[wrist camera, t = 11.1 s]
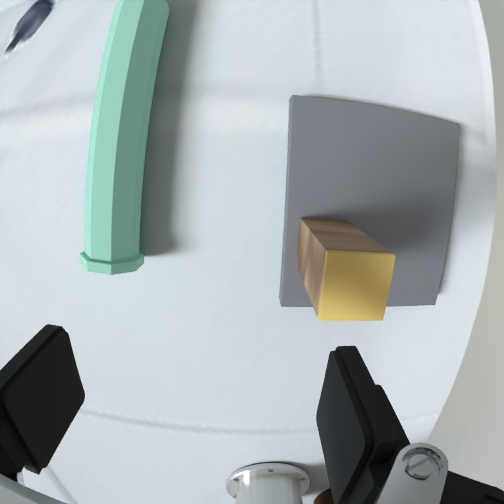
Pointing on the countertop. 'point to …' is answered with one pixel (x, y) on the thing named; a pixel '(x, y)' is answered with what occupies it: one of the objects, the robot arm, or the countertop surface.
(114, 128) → the container
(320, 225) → the block
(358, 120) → the board
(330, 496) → the olive oil
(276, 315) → the countertop surface
